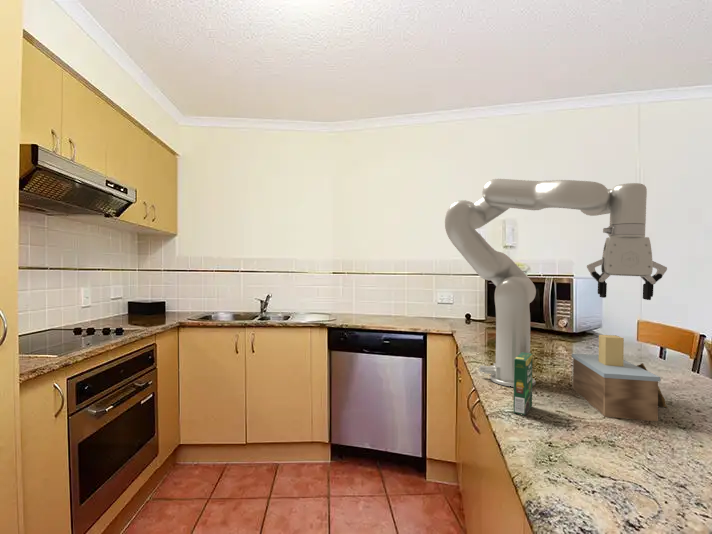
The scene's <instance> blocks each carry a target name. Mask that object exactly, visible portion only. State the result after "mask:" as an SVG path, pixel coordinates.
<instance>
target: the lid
mask: <svg viewBox="0 0 712 534" xmlns="http://www.w3.org/2000/svg"><path fill="white" fill-rule="evenodd" d="M624 340H625V339H624V337H621V336H619V335H613V334H612V335H611V334H598V354H589V353H586V354H585V353H573V352H572V353H571V358H572V359H573V358H574V359H576V360H577V361H579V362H580V363H582V364H584V365H585V366H587V367H588V368H590V369H591V370H593V371H595V372H596V373H598V374H599V375H601V376H602V377H604V378H615V379H629V380H644V381H658V383H659V382H661V376H658V375H657V374H655V373H652V372H651V371H649V370H647V371H646V370H644V369H642V368H640V367H638V366H637V365H636V364H633V363H632V362H629V361H627V360H626V359H624V356H625V355H624V352H625V351H624V347H625V345H624Z"/></svg>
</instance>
